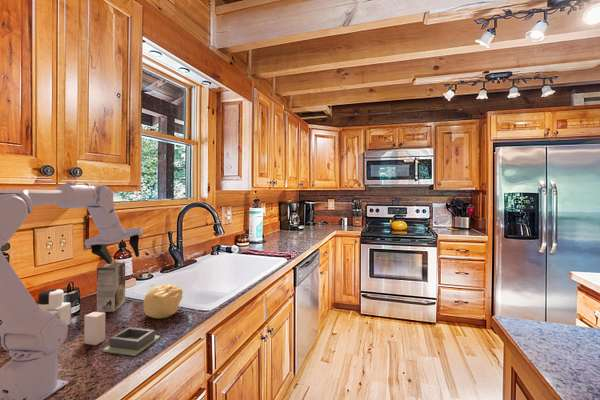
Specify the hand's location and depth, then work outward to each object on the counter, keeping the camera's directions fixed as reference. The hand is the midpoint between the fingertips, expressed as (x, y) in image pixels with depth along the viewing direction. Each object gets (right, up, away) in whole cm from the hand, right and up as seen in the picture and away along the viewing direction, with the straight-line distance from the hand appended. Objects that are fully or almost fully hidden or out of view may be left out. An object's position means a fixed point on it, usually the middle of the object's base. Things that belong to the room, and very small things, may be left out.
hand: (124, 258), depth 90 cm
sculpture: (+5, -23, +14) cm, 28 cm away
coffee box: (-17, -23, +20) cm, 35 cm away
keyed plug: (-5, -23, -6) cm, 24 cm away
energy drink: (-11, -23, -15) cm, 30 cm away
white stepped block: (-24, -23, +2) cm, 33 cm away
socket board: (+7, -23, -7) cm, 25 cm away
